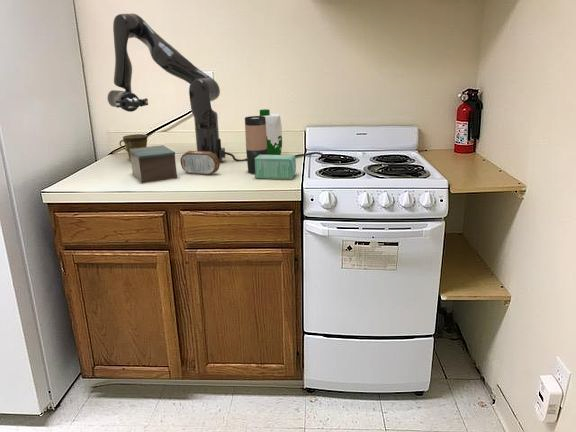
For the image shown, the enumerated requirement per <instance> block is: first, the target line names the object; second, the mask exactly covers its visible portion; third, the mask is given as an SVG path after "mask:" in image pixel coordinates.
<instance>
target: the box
mask: <svg viewBox="0 0 576 432" xmlns="http://www.w3.org/2000/svg"><path fill="white" fill-rule="evenodd" d="M296 171H297V161H296V157H295V156H294V155H292V154H291V155H290V154H281V155H258V156H257V157H256V158H255V174H254V178H255V179H270V180H271V179H273V180H292V179H293V178H294V176H295V175H296Z"/></svg>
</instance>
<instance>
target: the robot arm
mask: <svg viewBox="0 0 576 432" xmlns="http://www.w3.org/2000/svg"><path fill="white" fill-rule="evenodd" d="M112 25H113V26H112V33H113V45H114V58H115V59H114V73H113V84H114V86H116V87H117V88H120V89H123V90H119V89H118V90H117V89H111V90H110V91H108V93H107V97H106V98H107V103H108V104H109V106H110V107H113V108H117V109H119V108H120V109H122V110H123V111H126V112H130V113H133V112H135V111H137V110H138V109H139V108H143V107H145V106H149V99H148V98H146V97H145V98H139V97H138V95H137V94H135V93H134V92H133V90H132V77H133V65H132V64H133V63H132V61H131V58H130V55H129V52H128V42H129V39H137V40H139V41H140V42H141V43H143V44H144V45H145V46H146V47H147V48H148V51H149V54H150V57H151V58H152V60H153V62H155V64H156V65H158V67H160V68H161V69H162V70H164V71H165V72H166V73H167V74H170V75H171V76H174V77H176V78H177V79H181V80H183V81H185V82H186V83H188V84H189V87H188V95H189V104H190V110H191V114H192V116H193V121H194V132H195V133H194V134H195V142H196V151H204V152H212V153H213V154H215V155H216V156H217V158H218V160H219V164H220V163H223V159H226V156H227V155H228V156H230V157H231V158H232V159H233V161H235V162H247V158H243V159H239V158H236V156H235V155H234V154H233V153H230V152H228V151H226V148H225V147H222V140H221V138H220V132H219V119H218V118H219V117H218V112H217V111H215V110H213V108H212V104H211V102H214V101H216V100H217V99H219V97H220V95H221V89H220V85H219V84H218V82H217V80H215V79H214V78H212V77H211V76H210V75H208V74H207V73H205V72H204V71H202V70H201V69H200V68H198V67H197V66H195V65H194V64H193V63H192V62H191V61H190V60H189V59H187V58H186V57H185V56H184V55H183V54H182V53H181V52H180V51H179V50H178V49H176V48H175V47H174V46H173V45H171V44H170V43H169V42H167V41H166V40H165V39H164V38H163V37H161V35H159V34H158V33H157V32H156V31H155V30H154V29H153V28H152V27H151V26H150V25H149V24H148V23H147V22H146V20H145V19H144V18H142V17H141V16H140V15H138V14H136V13H130V12H129V13H119V14H117V15H115V17H114V19H113V23H112ZM312 155H319V156H322V157H323V158H326V156H327V155H326V154H325V153H322V152H320V151H312V152H308V153H307V152H306V153H298V154H295V155H294V156H295V158H298V157H299V158H300V157H305V156H312Z"/></svg>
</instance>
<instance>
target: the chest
mask: <svg viewBox="0 0 576 432" xmlns="http://www.w3.org/2000/svg"><path fill="white" fill-rule="evenodd" d="M130 157H131V161H130V164H131V171H132V175H133V177H135V178H136V179H137V180H138V181H139V182H140V184H145V183H153V182H159V181H160V182H161V181H167V180H173V179H178V173H177V164H176V162H177V161H176V154H175V155H166V156H158V157H150V158H141V159H139V158H138V157H136V156H135V155H134V154H133V153H132V152H130Z"/></svg>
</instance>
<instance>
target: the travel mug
mask: <svg viewBox="0 0 576 432" xmlns="http://www.w3.org/2000/svg"><path fill="white" fill-rule="evenodd" d="M244 131H245V132H244V133H245V152H246V159H247V161H246V164H247V172H248V173H249V174H252V175H255V158H256V157H257V156H258V155H267V138H266V118H265V117H264V116H259V115H252V116H250V115H249V116H245V117H244Z"/></svg>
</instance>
